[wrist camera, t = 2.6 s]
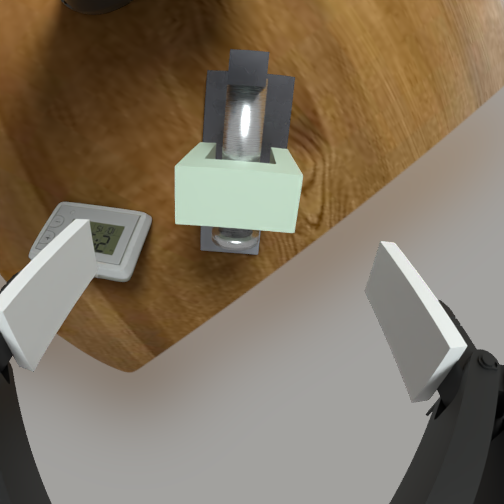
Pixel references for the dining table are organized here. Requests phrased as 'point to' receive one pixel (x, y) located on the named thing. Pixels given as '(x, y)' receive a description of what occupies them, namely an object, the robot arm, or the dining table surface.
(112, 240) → the digital clock
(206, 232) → the coaster
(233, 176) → the bracket
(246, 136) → the stand
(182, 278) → the dining table surface
